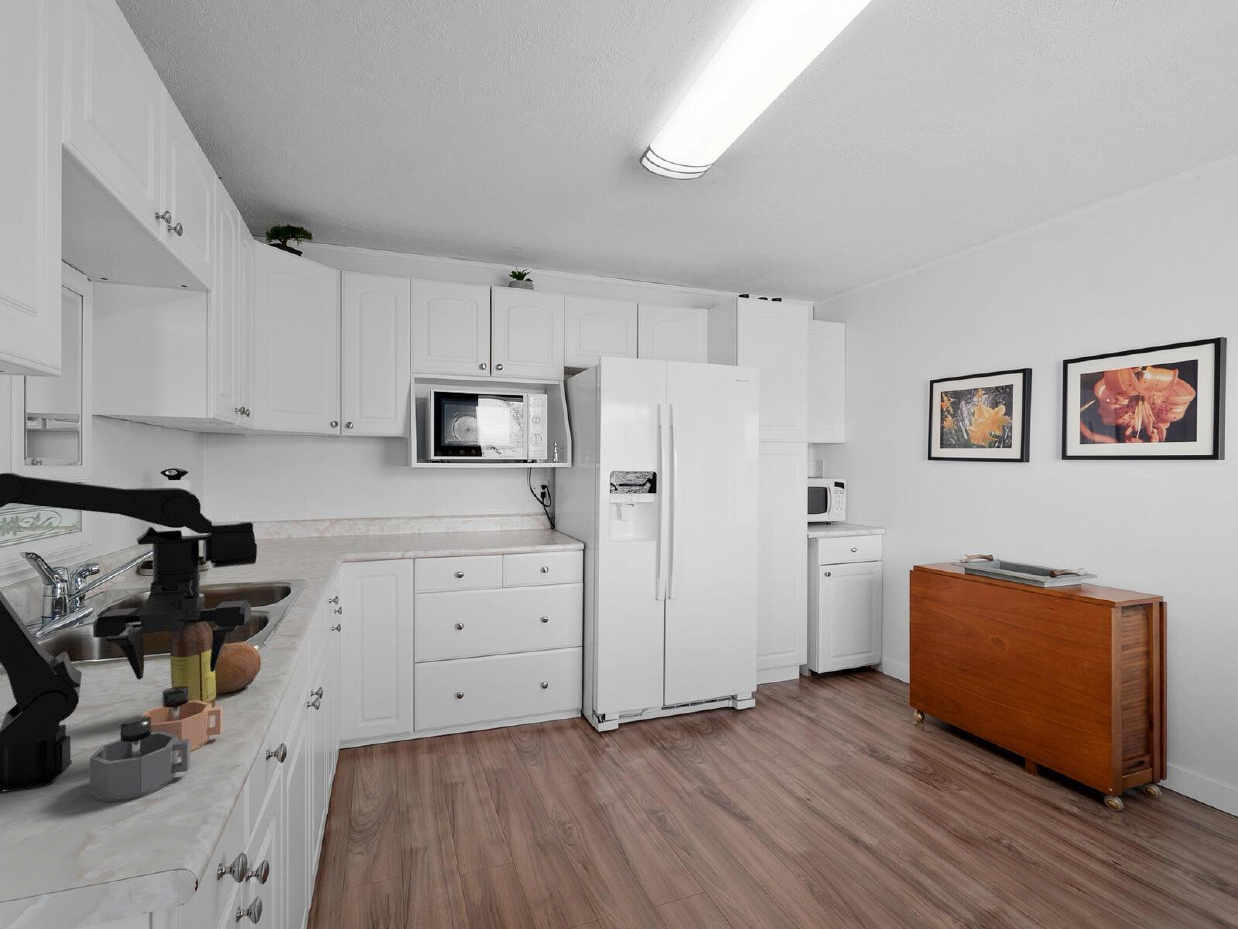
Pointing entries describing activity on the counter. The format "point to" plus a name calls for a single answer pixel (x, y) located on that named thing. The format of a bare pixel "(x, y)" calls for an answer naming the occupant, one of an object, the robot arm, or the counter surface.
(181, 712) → the bowl
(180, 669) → the sauce bottle
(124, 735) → the coffee tamper
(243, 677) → the onion
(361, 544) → the counter surface
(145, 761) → the grey octagonal cup
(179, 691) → the black-handled metal tamper
